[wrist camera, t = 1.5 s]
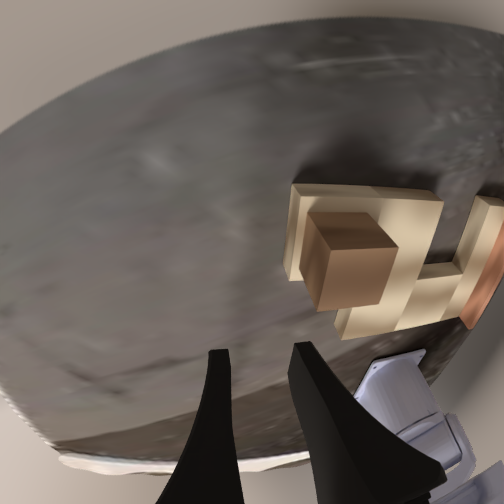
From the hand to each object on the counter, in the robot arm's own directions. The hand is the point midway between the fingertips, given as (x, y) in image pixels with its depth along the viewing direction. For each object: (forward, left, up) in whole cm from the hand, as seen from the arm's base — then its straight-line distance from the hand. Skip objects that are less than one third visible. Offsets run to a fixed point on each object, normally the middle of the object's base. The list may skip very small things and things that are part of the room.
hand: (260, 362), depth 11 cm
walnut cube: (0, -6, -8) cm, 10 cm away
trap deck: (-4, -14, -10) cm, 17 cm away
